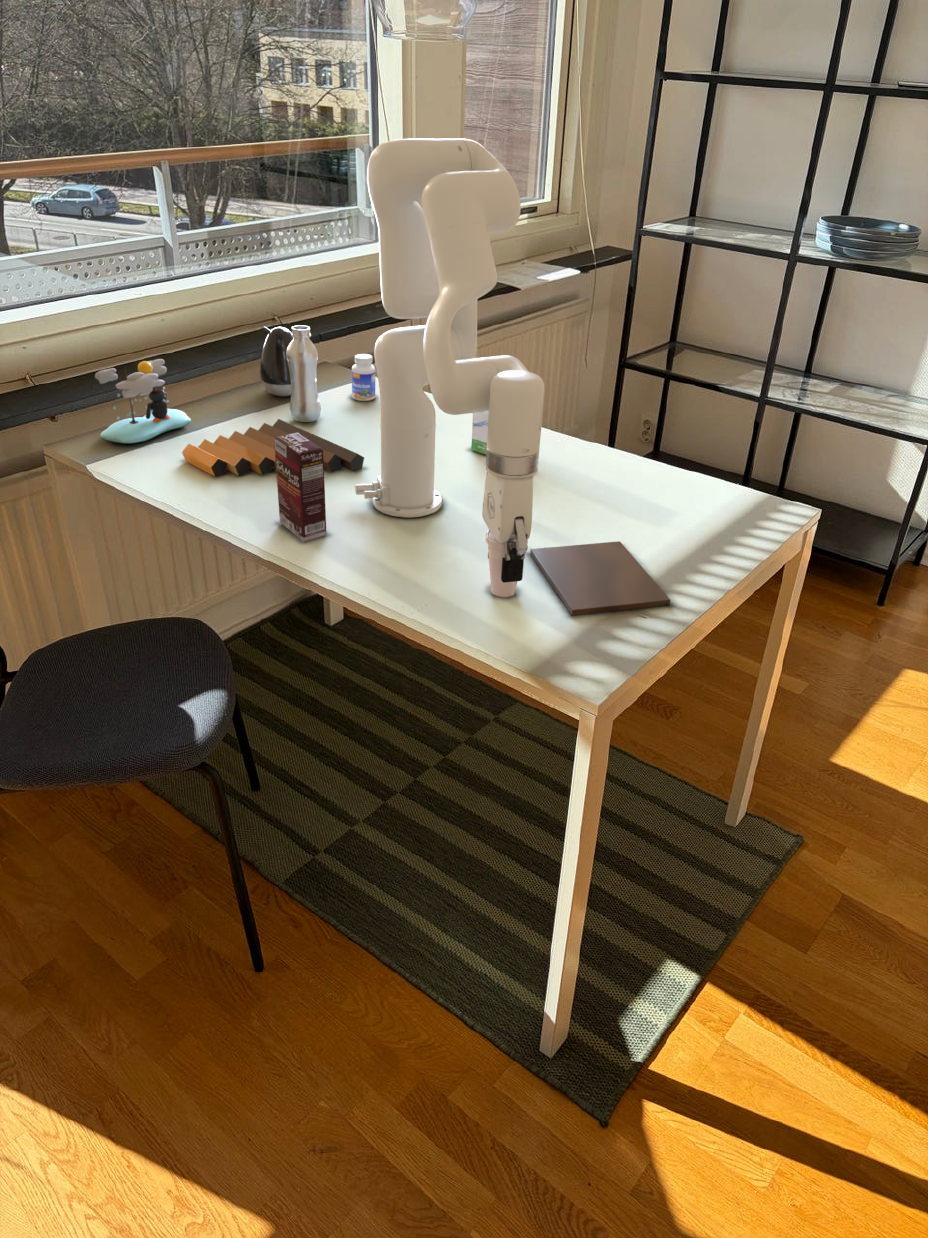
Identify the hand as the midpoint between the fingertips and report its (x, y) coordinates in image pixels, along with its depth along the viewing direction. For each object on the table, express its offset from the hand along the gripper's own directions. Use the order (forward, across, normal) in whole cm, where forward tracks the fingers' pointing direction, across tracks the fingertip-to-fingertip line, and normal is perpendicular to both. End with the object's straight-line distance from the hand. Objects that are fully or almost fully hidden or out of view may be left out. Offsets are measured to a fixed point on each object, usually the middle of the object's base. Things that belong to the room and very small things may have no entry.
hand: (504, 568), depth 146 cm
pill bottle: (+4, -93, -6) cm, 93 cm away
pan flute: (+4, -56, -30) cm, 64 cm away
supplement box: (+4, -27, -28) cm, 39 cm away
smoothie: (+4, 0, 0) cm, 4 cm away
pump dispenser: (+4, -99, -24) cm, 102 cm away
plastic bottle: (+4, -80, -21) cm, 83 cm away
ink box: (+4, -58, +15) cm, 60 cm away
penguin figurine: (+4, -78, -54) cm, 95 cm away
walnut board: (+4, -1, +16) cm, 17 cm away
